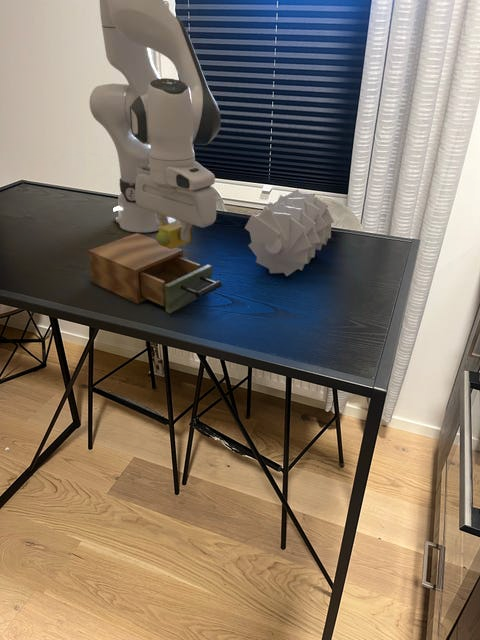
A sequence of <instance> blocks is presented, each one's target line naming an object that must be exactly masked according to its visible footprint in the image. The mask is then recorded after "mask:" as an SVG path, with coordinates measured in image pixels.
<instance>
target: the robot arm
mask: <svg viewBox="0 0 480 640" xmlns="http://www.w3.org/2000/svg"><path fill="white" fill-rule="evenodd" d="M99 13H100V14H99V15H100V22H101V29H102V36H103V42H104V43H103V44H104V49H105V56H106V59H107V61H108V63H109V64H110V65H111V66H112V68H114V69H115V70H117V71H119V72H120V74H122V75H123V76H124V78H125V80H126V82H127V83H128V84H125V83H106V84H101V85H97V86H95V87H94V88H93V89H92V91H91V93H90V96H89V103H88V105H89V110H90V112H91V115H92V116H93V118H94V119H95V121H97V122H98V123H99V124H100V125H101V126H102V127H103V128H104V129H105V130H106V133H108V135H109V136H110V138H111V140H112V142H113V144H114V147H115V150H116V153H117V159H118V166H119V174H120V178H119V183H118V184H119V191H120V192H121V193H119V195H118V196H117V206H115V207H114V208H113V212H116V211H118V215H117V216H116V217H115V222H116V223H117V224H119V225H118V226H119V227H120V229H122V230H124V231H126V232H131V233H153V232H159V227H161V226H164V225H167V224H170V223H173V222H175V221H178V220H179V221H180V222H181V225H182V229H181V231H178V239H180V240H183V241H184V240H187V239H188V231H189V230H190V228H191V226H192V227H193V226H195V227H198V228H201V229H202V228H204V229H205V228H206V227H207V228H208V227H209V226H212V225H213V224H214V223H215V221H216V220H217V196H216V191H215V189H214V188H213V186H212V185H215V183H216V176H215V174H214V173H213V172H212V171H210V170H209V169H207V168H206V167H204V166H203V165H201V164H200V163H199V162H198V161H196V157H195V156H196V154H195V150H194V146H193V145H195V146H196V145H197V146H199V145H200V146H207V145H208V144H210V142H211V141H213V140H214V139H215V137H216V136H217V135H218V133H219V132H220V130H221V124H222V123H221V121H222V119H221V112H220V108H219V106H218V103H217V101H216V100H215V98H214V96H213V94H212V92H211V90H210V88H209V86H208V83H207V81H206V78H205V76H204V73H203V70H202V67H201V65H200V62H199V59H198V56H197V54H196V52H195V48H194V46H193V44H192V40H191V38H190V35H189V33H188V30H187V29H186V26H185V25H184V23H183V21H182V20H181V19H180V18H178V17H177V16H176V15H175V14H173V13H172V11H171V10H170V9H169V7H168V6H167V4H166V2H165V0H99ZM151 50H153V51H155V52H157V53H159V54H161V55H163V56H164V57H166V58H167V59H169V61H170V62H171V63H172V64H173V65H174V68H175V70H176V73H177V75H178V78H179V79H174V78H165V77H164V78H162V77H161V76H160V74H159V72H158V70H157V69H156V66H155V64H154V61H153V57H152V53H151Z"/></svg>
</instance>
